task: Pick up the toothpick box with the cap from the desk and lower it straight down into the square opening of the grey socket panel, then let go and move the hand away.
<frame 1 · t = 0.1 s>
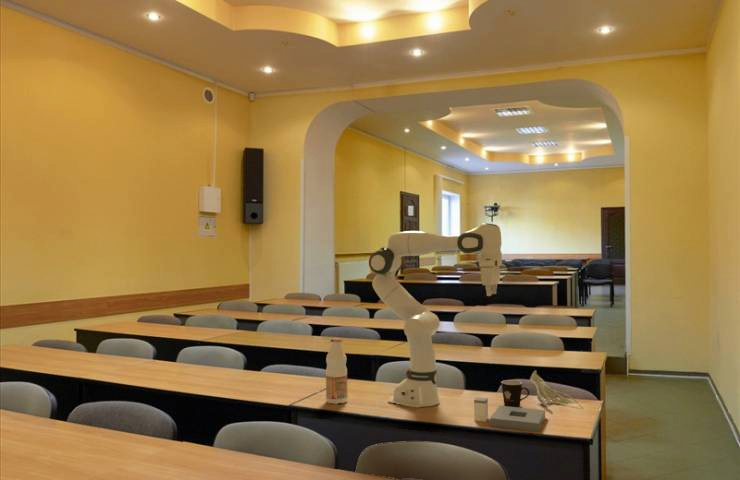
hand: (491, 294, 240), 48 cm above the table, tool pointing down, fingers open, 8 cm apart
socket: (518, 421, 222), on the table
fruit juice: (336, 402, 254), on the table
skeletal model: (549, 404, 246), on the table
toothpick box: (481, 419, 226), on the table
coffee mug: (514, 407, 243), on the table
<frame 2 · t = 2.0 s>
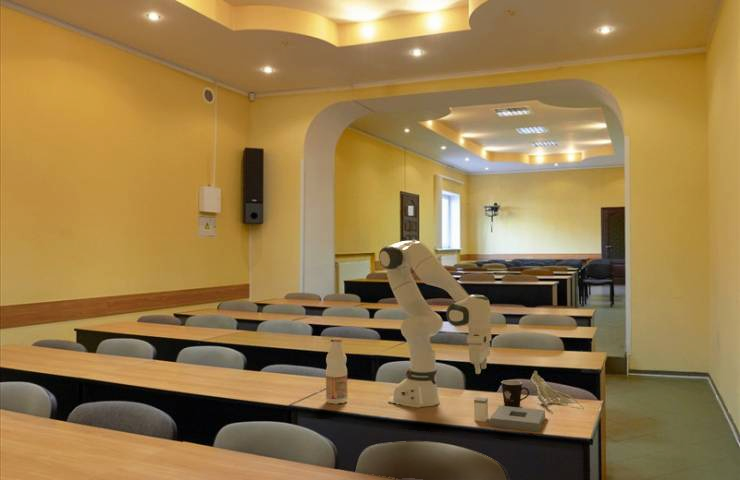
hand: (480, 371, 226), 19 cm above the table, tool pointing down, fingers open, 8 cm apart
nothing on the table moved.
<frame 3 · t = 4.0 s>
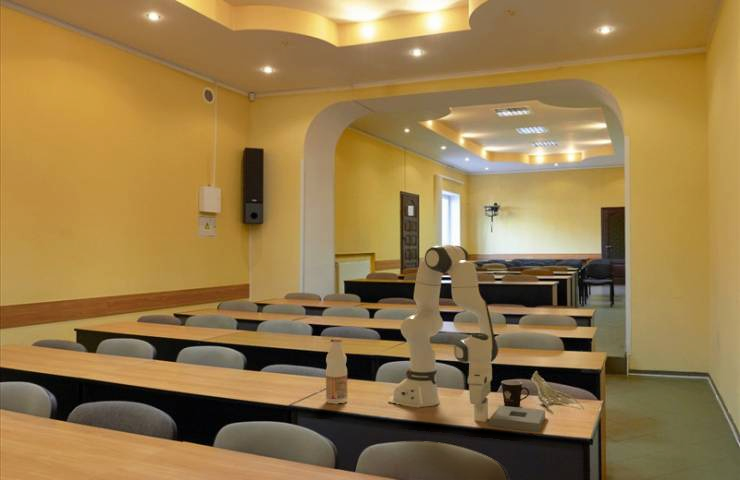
hand: (481, 410, 226), 4 cm above the table, tool pointing down, fingers closed on toothpick box, 4 cm apart
toothpick box: (481, 419, 226), on the table, touching gripper
everything else where it was.
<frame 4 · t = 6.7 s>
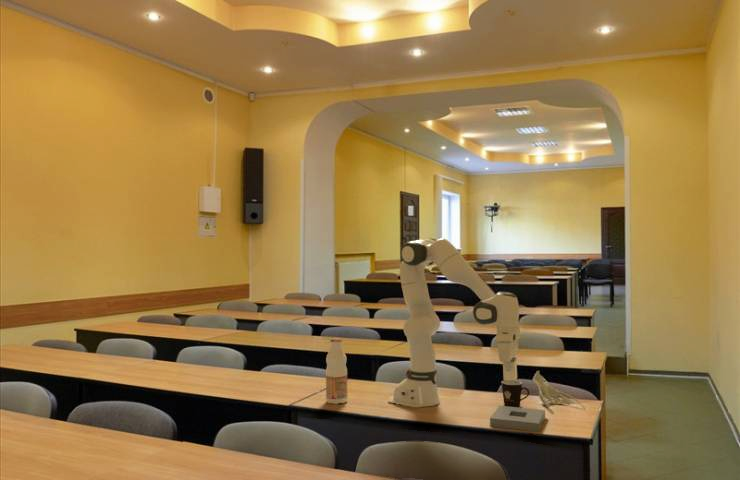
hand: (509, 369, 223), 20 cm above the table, tool pointing down, fingers closed on toothpick box, 4 cm apart
toothpick box: (510, 378, 223), point 17 cm above the table, touching gripper
everything else where it was.
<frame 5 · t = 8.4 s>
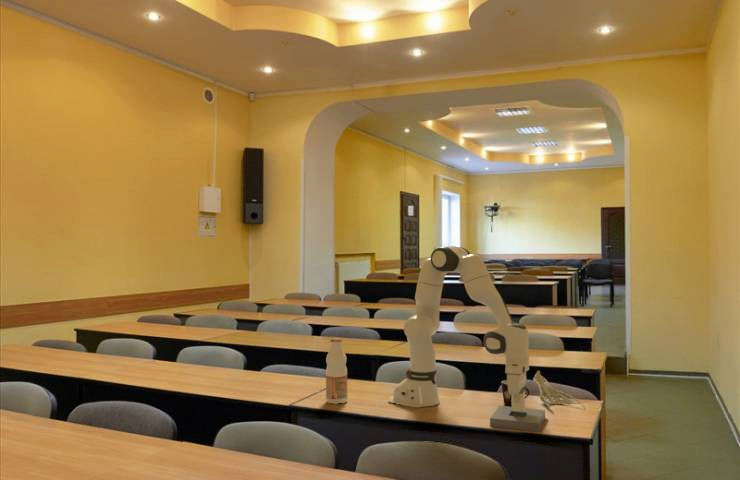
hand: (517, 400, 223), 8 cm above the table, tool pointing down, fingers closed on toothpick box, 4 cm apart
toothpick box: (518, 409, 222), point 5 cm above the table, touching gripper
when the fingers open (5 cm above the table, at t = 9.5 s): toothpick box drops 1 cm, resting in socket.
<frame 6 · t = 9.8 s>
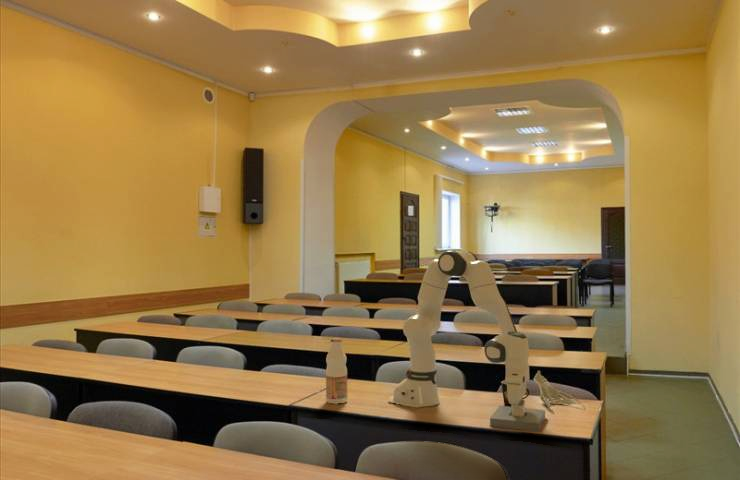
hand: (517, 409, 222), 5 cm above the table, tool pointing down, fingers open, 7 cm apart
toothpick box: (518, 421, 222), resting in socket
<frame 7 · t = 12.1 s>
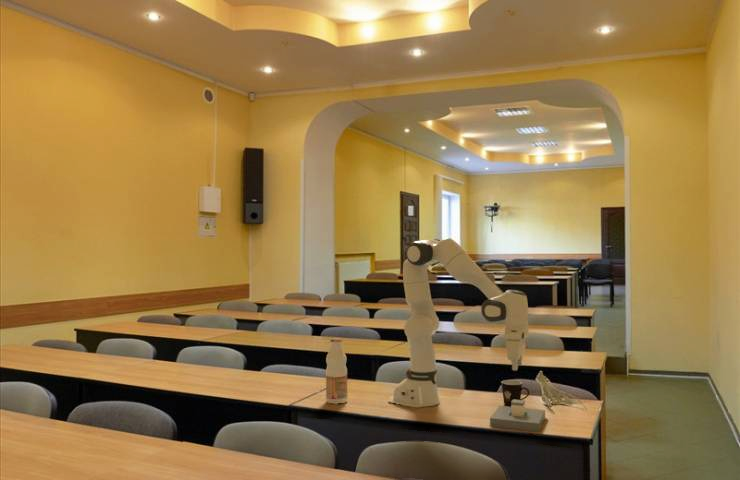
hand: (517, 367, 223), 21 cm above the table, tool pointing down, fingers open, 8 cm apart
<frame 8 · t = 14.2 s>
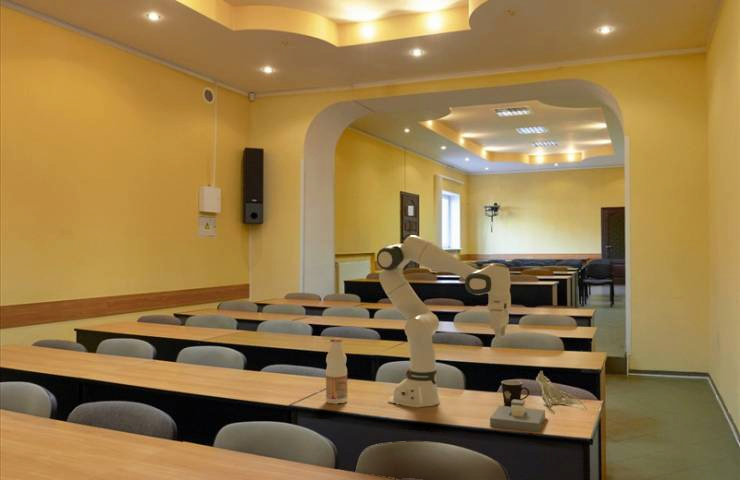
hand: (500, 337, 233), 31 cm above the table, tool pointing down, fingers open, 8 cm apart
at the end: toothpick box 0.0 cm off-centre on the socket, point 0.0 cm above the socket's base; toothpick box tilted 0°; the gripper is holding nothing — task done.
